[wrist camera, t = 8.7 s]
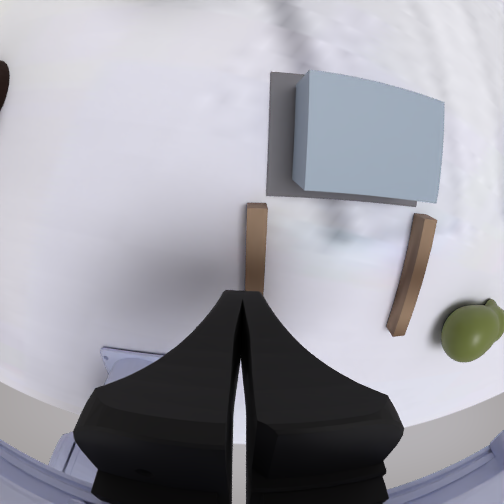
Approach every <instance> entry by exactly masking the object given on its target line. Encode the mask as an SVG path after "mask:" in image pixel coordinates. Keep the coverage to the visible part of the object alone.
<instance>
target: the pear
mask: <svg viewBox="0 0 504 504" xmlns="http://www.w3.org/2000/svg"><path fill="white" fill-rule="evenodd" d="M503 332H504V310H502V309H501V308H500V307H499V306H497V304H496V302H495V301H494V300H492V299H490V300H488V301H487V303H486V304H485V306H483V305H469V306H463V307H460V308H458V309H457V310H455V311H454V312H453V313H451V315H450V316H449V317H448V318H447V320H446V321H445V323H444V326H443V329H442V334H441V342H442V346H443V349H444V351H445V352H446V354H447V355H448V356H449V357H450V358H451V359H453V360H455V361H458V362H470V361H473V360H475V359H477V358H479V357H480V356H482V355H483V354H484V353H485V352H486V351H487V350H488V349H489V348H490V347H491V346H492V345H493V343H494V342H495V341H497V340H498V339H499V338H500V337H501V336H502V334H503Z"/></svg>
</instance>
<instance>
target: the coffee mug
mask: <svg viewBox="0 0 504 504" xmlns="http://www.w3.org/2000/svg"><path fill="white" fill-rule="evenodd" d="M8 86H9V69H8V66H7V64H6V63H5V62H4V61H1V60H0V110H1V108H2V106H3V104H4V101H5V98H6V95H7V91H8Z"/></svg>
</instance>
